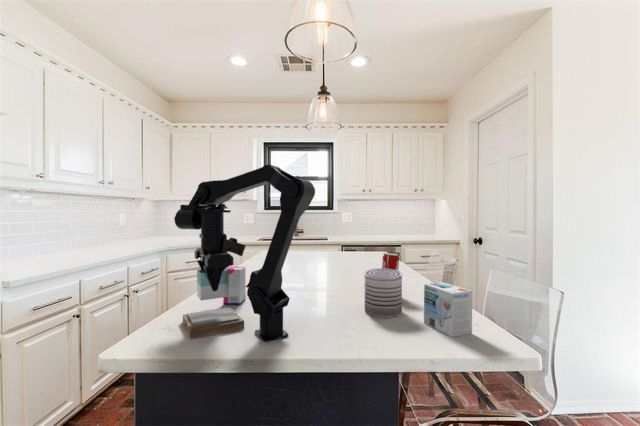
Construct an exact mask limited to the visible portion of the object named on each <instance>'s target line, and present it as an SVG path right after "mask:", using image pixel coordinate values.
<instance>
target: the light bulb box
mask: <svg viewBox="0 0 640 426" xmlns="http://www.w3.org/2000/svg"><path fill="white" fill-rule="evenodd" d="M423 285H424V286H423V288H424V291H423V293H424V294H423V295H424V297H423V299H424V300H423V323H424V324H426V325H428V326H429V327H432V328H433V329H435V330H437V331H439V332H441V333H443V334H445V335H447V336H448V337H451V338H454V337H459V336H466V335H472V334H473V290H470V289H467V288H464V287H463V288H462V287H460V286H458V285H453V284H451V283H447V282H445V281H444V282H441V281H439V282H433V283H424V284H423Z"/></svg>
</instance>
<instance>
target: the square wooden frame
mask: <svg viewBox="0 0 640 426" xmlns="http://www.w3.org/2000/svg"><path fill="white" fill-rule="evenodd" d="M182 323H183V326H184V328H185V330H186V332H187V334H188V336H189V338H190V340H192V339H196V338H202V337H208V336H213V335H217V334H223V333H227V332H232V331H238V330H244V329H245V320H244V319H243V318H242V317H241V316H240V315H239V314H238V313H237V312H236V311H235V310H234V309H233V308H232V307H231V306H230V307H229V306H228V307H223V308H222V307H220V308H214V309H209V310H202V311H195V312H189V313H186V314H182Z"/></svg>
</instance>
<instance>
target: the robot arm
mask: <svg viewBox="0 0 640 426" xmlns="http://www.w3.org/2000/svg"><path fill="white" fill-rule="evenodd" d="M269 184H270V186H272V187H273V188H274V189H275V190H276V191H278V192H279V193H280V198H279V206H280V213H279V214H280V215H279V217H278V220H277V223H276V226H275V228H274V229H275V230H274V232H273V235H272V238H271V241H270V243H269V247H268V250H267V252H266V255H265V259H264V262H263V265H262V267H261V268H259V269H257V270H254V271H251V273H250V275H249V281H248V283H247V284H246V288H247V291H246V297H248V299H249V301H250V304H251V307H252V311H253V314H256V315H259V329H256V330H254V334H255V335H256V336H257V337H258V338H260V340H262V342H268V341H273V340H277V339H282V338H286V337H288V336H289V333H288V332H287V331H286V330H285V329H284V308H285V307H287V306H289V303H290V299H291V298H290V297H289V296H288V294H287V293H286V292H285V291H284V290H283V288H282V285H283V274H282V269H283V267H284V264H285V261H286V258H287V255H288V253H289V250H290V247H291V243H292V241H293V238H294V236H295V232H296V230H297V227H298V224H299V220H300V218H301V217H302V216H303V214H304V213H305V212H306V210H307V209H308V208H309V207H310V204H311V203H312V202H313V199H314V197H315V195H316V188H315V186H314V184H313V183H312V182H311V181H309V179H304V178H298V177H296V176H294V175H292V174H290V173H288V172H286V171H285V170H283V169H281V167H280V166H276V165H273V164H265V165H263V166H262V167H259V168H256V169H253V170H250V171H247V172H245V173H242V174H238V175H236V176H233V177H229V178H227V179H221V180H207V181H202V182H200V183H199V184H198V187H197V189H196V191H195V193H194V195H192V198H191V200H190V201H189V203H188V204H180V209H178V210H177V212H176V213H175V216H174V217H173V218H174V224H175V226H176V227H177V228H178V229H180V230H200V233H198V235H199V239H200V247H198V248H196V249H195V250H194V259H196V262H197V265H198V267H199V270H201V269H205V272H206V274H207V277H208V280H209V282H210V285H211V287H212V290H213V291H217V290H218V287H219V283H220V279H221V275H222V272H223V270H225V269H226V268H228V267H233V266H234V256H233V255H234V254H235V255H237V256H240V257H243V256H244V255H243V254H244V253H245V252H244V251H245V248H246V246H247V245H246V244H242V243H240V242H238V239H237V238H235V237H232V236H230V238H228V237H227V236H228V235H227V234H226V233H224V231H225V230H224V228H225V227H224V226H225V224H224V218H225V217H224V213H226V214H227V213H231V212H232V211H231V209H230V208H229V207H228V206H227V205H226V204H225V203H226V202H228V201H230V200H232V199H233V197H235V196H236V195H238V194H240V193H241V194H242V193H244V192H247V191H250V190H254V189H256V188H259V187H263V186H265V185H269ZM228 252H229V253H228ZM230 253H232V254H233V255H232V254H230Z"/></svg>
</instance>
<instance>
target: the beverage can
mask: <svg viewBox="0 0 640 426" xmlns="http://www.w3.org/2000/svg"><path fill="white" fill-rule="evenodd" d="M399 264H400V257H399V254H397V253H392V252H384V253H383V256H382V261H381V268H387V269H393V270H398V271H399Z"/></svg>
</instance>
